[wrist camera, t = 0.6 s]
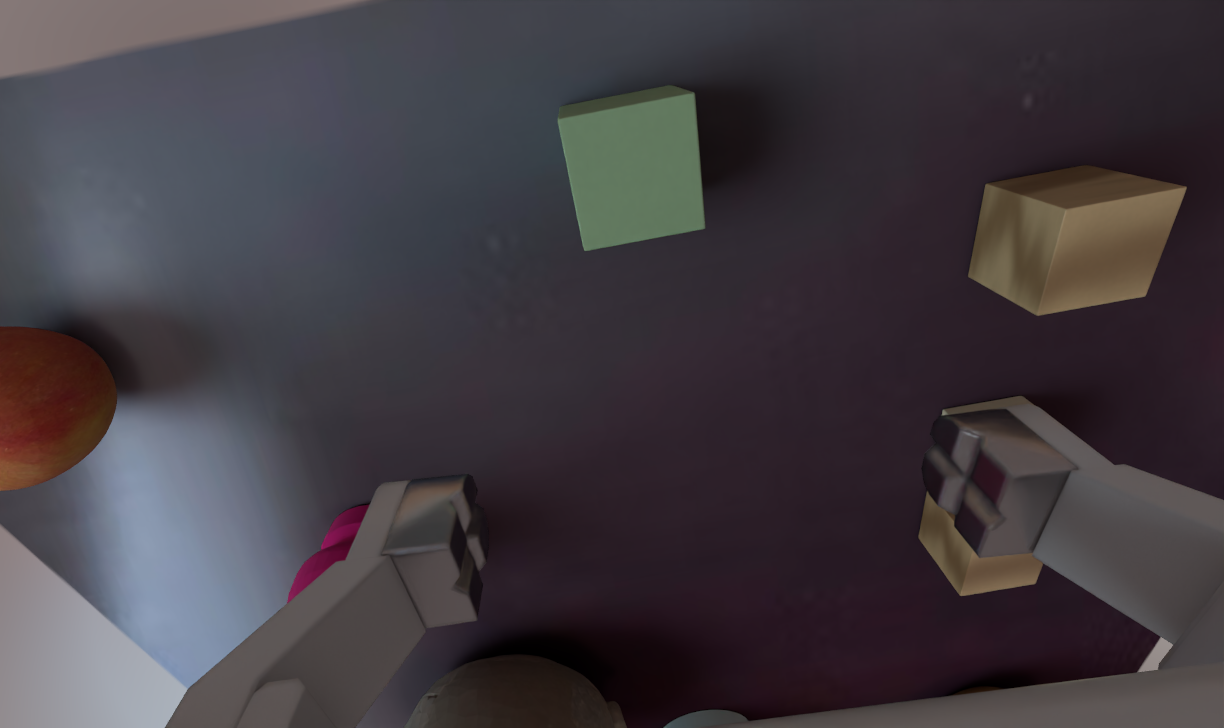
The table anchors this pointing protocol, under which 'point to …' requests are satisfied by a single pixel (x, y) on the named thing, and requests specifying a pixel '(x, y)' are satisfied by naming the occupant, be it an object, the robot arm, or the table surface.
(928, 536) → the line block
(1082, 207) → the line block
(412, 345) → the table surface
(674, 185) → the green block
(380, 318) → the table surface
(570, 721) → the bowl
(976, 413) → the robot arm
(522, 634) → the table surface
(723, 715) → the mug
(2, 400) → the apple
